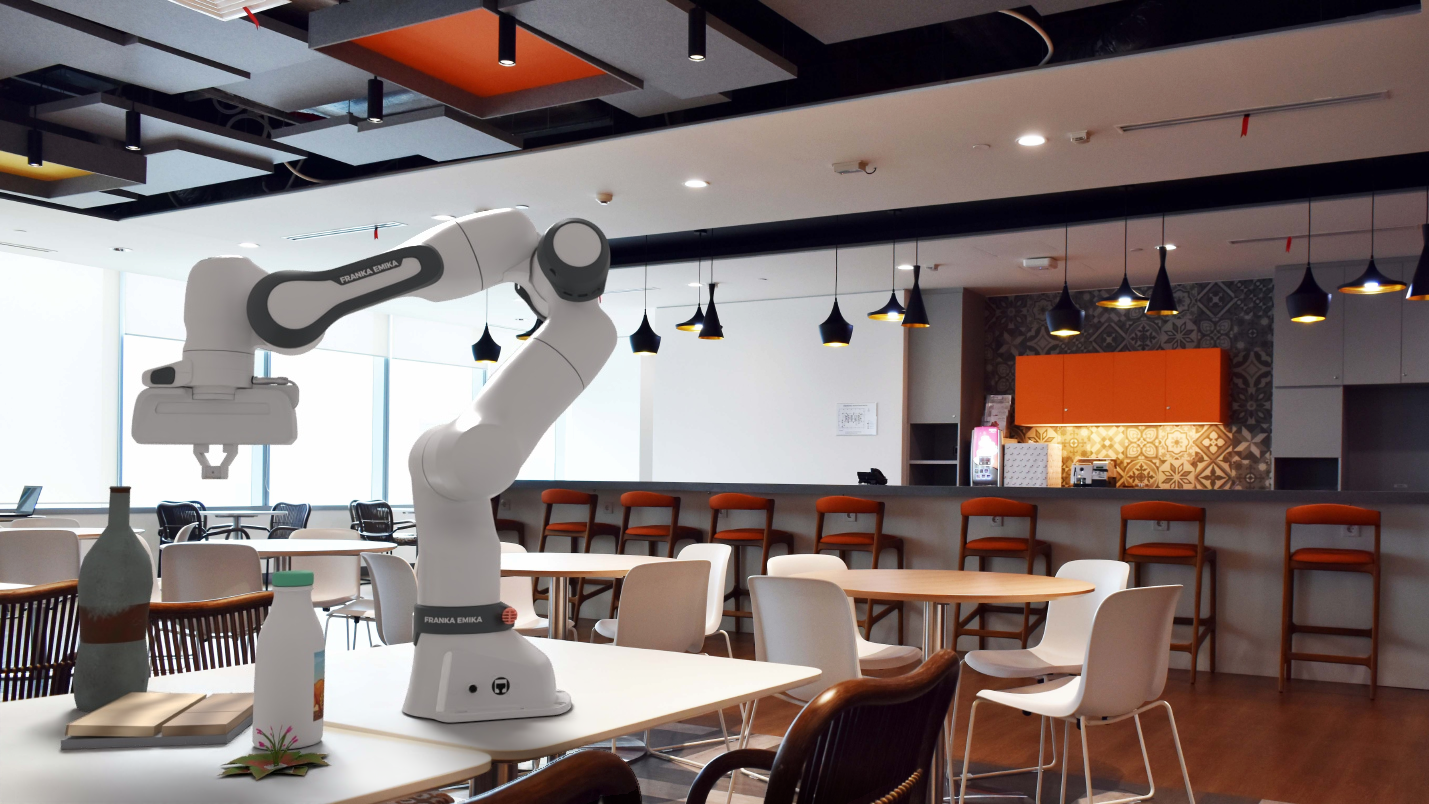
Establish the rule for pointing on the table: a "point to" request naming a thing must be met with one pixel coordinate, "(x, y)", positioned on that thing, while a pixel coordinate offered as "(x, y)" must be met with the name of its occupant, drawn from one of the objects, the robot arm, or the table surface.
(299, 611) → the milk bottle
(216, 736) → the underlay
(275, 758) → the green plant with flowers
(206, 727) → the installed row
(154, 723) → the plank
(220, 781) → the table surface
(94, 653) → the vodka
